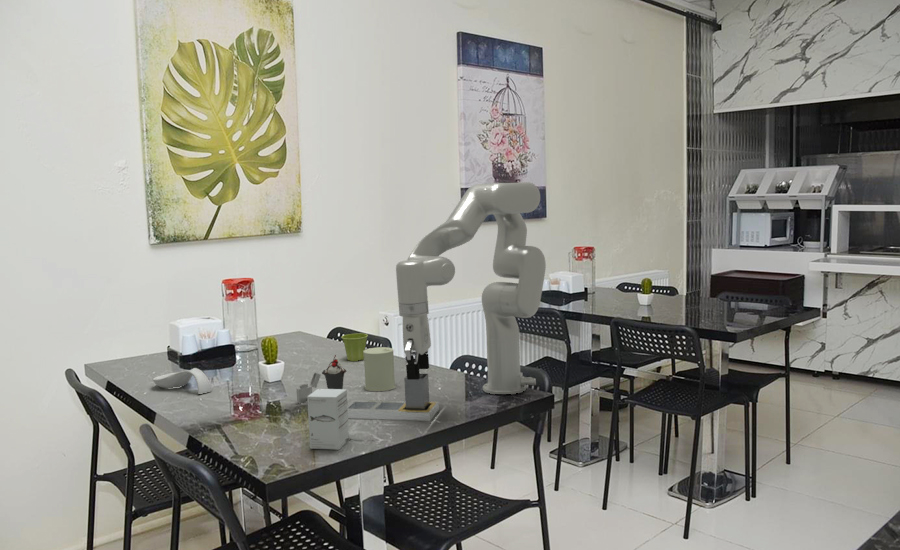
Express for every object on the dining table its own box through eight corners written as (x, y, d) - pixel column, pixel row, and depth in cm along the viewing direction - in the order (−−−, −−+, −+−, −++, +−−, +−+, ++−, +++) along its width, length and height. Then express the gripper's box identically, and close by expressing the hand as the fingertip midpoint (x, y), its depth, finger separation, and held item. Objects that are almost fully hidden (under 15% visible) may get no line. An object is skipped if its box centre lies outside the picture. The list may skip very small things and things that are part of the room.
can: (390, 391, 215) (388, 352, 214) (360, 391, 217) (358, 351, 216) (399, 383, 224) (397, 345, 223) (370, 383, 226) (368, 345, 225)
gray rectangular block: (429, 411, 190) (428, 372, 189) (424, 417, 185) (423, 377, 184) (411, 410, 191) (409, 372, 190) (406, 416, 186) (404, 377, 185)
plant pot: (367, 362, 256) (366, 337, 256) (340, 363, 257) (339, 338, 256) (370, 356, 266) (369, 332, 265) (344, 357, 266) (343, 333, 265)
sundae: (337, 411, 197) (334, 357, 196) (319, 408, 201) (316, 355, 199) (353, 405, 203) (350, 352, 201) (335, 402, 206) (332, 350, 205)
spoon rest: (146, 389, 231) (144, 367, 230) (179, 380, 240) (177, 359, 240) (190, 399, 217) (188, 375, 216) (223, 389, 226) (221, 367, 226)
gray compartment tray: (439, 412, 192) (438, 401, 192) (430, 424, 183) (429, 412, 182) (353, 410, 197) (352, 399, 197) (339, 421, 188) (339, 410, 187)
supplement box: (308, 449, 168) (305, 396, 166) (321, 439, 175) (318, 387, 173) (339, 450, 166) (336, 396, 165) (350, 440, 173) (347, 388, 172)
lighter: (299, 404, 206) (298, 376, 205) (297, 402, 207) (295, 375, 206) (322, 399, 210) (320, 372, 209) (319, 398, 211) (318, 371, 211)
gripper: (419, 315, 176) (424, 383, 179) (435, 302, 193) (440, 365, 195) (389, 315, 178) (395, 383, 180) (408, 303, 195) (413, 365, 197)
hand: (418, 373), depth 188 cm, fingers open, 9 cm apart
